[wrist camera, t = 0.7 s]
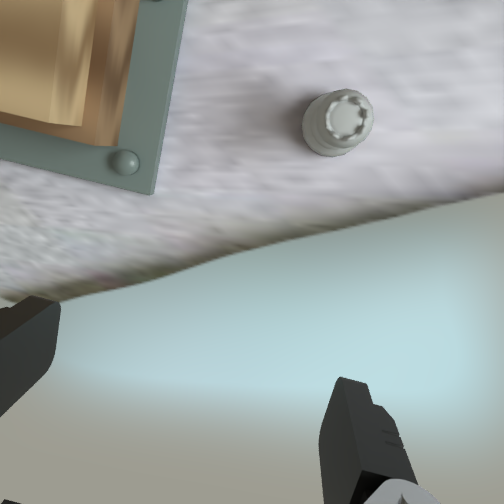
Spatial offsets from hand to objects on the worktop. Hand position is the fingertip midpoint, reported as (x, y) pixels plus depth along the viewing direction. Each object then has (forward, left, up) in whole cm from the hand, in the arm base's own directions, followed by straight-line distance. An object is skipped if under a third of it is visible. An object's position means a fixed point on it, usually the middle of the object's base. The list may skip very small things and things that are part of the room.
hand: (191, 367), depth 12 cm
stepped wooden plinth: (-9, -16, -22) cm, 29 cm away
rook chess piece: (-9, +4, -23) cm, 25 cm away
